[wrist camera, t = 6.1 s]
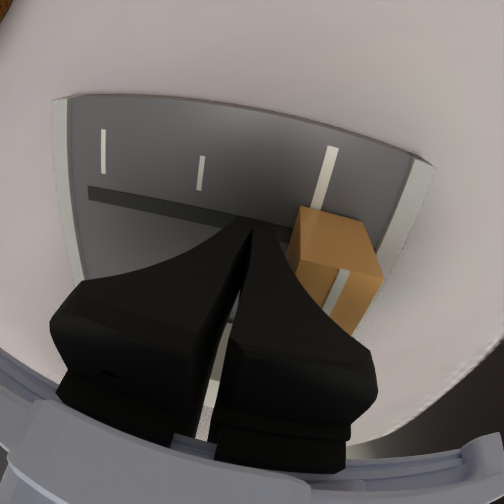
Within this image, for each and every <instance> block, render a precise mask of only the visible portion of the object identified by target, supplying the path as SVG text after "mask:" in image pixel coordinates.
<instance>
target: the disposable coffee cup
mask: <svg viewBox="0 0 504 504" xmlns="http://www.w3.org/2000/svg"><path fill="white" fill-rule="evenodd" d="M11 1H12V0H0V21H1V20H2V18H3V16H4V15H5V13H6V11H7V10H8V8H9V6H10V4H11Z"/></svg>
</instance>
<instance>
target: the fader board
mask: <svg viewBox="0 0 504 504" xmlns="http://www.w3.org/2000/svg"><path fill="white" fill-rule="evenodd" d="M52 139H53V160H54V173H55V183H56V192H57V200H58V207H59V214H60V220H61V226H62V232H63V237H64V242H65V247H66V252H67V257H68V261H69V265H70V270H71V274H72V278H73V281H74V285H75V288H76V286H77V285H78V284H79V283H80V282H81V281H82V280H90V279H96V278H102V277H108V276H114V275H119V274H123V273H127V272H131V271H135V270H139V269H142V268H146V267H149V266H152V265H155V264H157V263H160V262H163V261H165V260H168V259H171V258H173V257H176V256H178V255H180V254H182V253H184V252H186V251H188V250H190V249H192V248H194V247H196V246H197V245H199V244H200V243H202V242H204V241H205V240H207V239H208V238H210V237H211V236H213V235H214V234H216V233H217V232H218V231H220V230H221V229H223V228H224V227H225V226H226V225H228V224H229V223H230V222H231V221H233V220H234V219H235V218H236V217H238V216H243V217H248V218H252V219H257V220H261V221H265V222H270V223H273V225H274V226H275V230H276V234H277V237H278V240H279V243H280V245H281V248H282V250H283V252H284V254H285V256H286V253H287V249H288V246H289V243H290V239H291V236H292V232H293V229H294V225H295V222H296V218H297V215H298V211H299V208H300V206H304V207H308V208H312V209H316V210H320V211H324V212H328V213H331V214H335V215H339V216H343V217H346V218H350V219H354V220H357V221H361V222H363V224H364V226H365V229H366V231H367V234H368V236H369V239H370V241H371V244H372V247H373V249H374V252H375V255H376V257H377V260H378V263H379V265H380V268H381V271H382V274H383V277H384V280H383V282H382V284H381V286H380V288H379V289H378V291H377V293H376V295H375V297H374V298H373V300H372V302H371V304H370V305H369V307H368V309H367V311H366V312H365V314H364V316H363V317H362V319H361V321H360V322H359V324H358V326H357V327H356V329H355V330H354V332H353V334H352V335H351V336H352V337H353V335H354V334H355V332H356V331H357V329H358V328H359V326H360V324H361V323H362V321H363V319H364V318H365V316H366V314H367V313H368V311H369V309H370V308H371V306H372V304H373V302H374V301H375V299H376V297H377V295H378V294H379V292H380V290H381V288H382V286H383V285H384V283H385V281H386V279H387V277H388V275H389V273H390V272H391V270H392V268H393V266H394V264H395V262H396V260H397V258H398V256H399V254H400V252H401V250H402V248H403V246H404V244H405V242H406V240H407V237H408V235H409V233H410V231H411V229H412V227H413V224H414V222H415V220H416V218H417V215H418V213H419V211H420V208H421V206H422V204H423V201H424V199H425V196H426V194H427V191H428V189H429V186H430V184H431V181H432V179H433V176H434V173H435V171H436V167H434V166H433V165H432V164H430V163H429V162H427V161H426V160H425V159H423V158H422V157H419V156H417V155H415V154H412V153H410V152H407V151H405V150H402V149H399V148H397V147H394V146H392V145H389V144H386V143H383V142H381V141H378V140H375V139H372V138H369V137H366V136H363V135H360V134H357V133H354V132H351V131H347V130H344V129H341V128H337V127H334V126H331V125H327V124H323V123H320V122H316V121H312V120H308V119H304V118H300V117H296V116H292V115H288V114H283V113H279V112H274V111H269V110H264V109H259V108H254V107H248V106H242V105H236V104H230V103H223V102H216V101H209V100H201V99H192V98H182V97H170V96H156V95H133V94H91V95H72V96H67V97H63V98H58V99H54V100H53V101H52ZM239 293H240V290H239ZM239 293H238V296H237V298H236V301H235V303H234V306H233V309H232V311H231V314H230V316H229V319H228V321H227V323H231V324H233V321H234V318H235V315H236V311H237V307H238V300H239Z"/></svg>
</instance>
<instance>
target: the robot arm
mask: <svg viewBox="0 0 504 504" xmlns="http://www.w3.org/2000/svg"><path fill="white" fill-rule="evenodd" d="M239 290H240V293H239ZM238 293H239V300H238V307H237V311H236V315H235V318H234V321H233V324H232V328H231V331H230V334H229V338H228V343H227V348H226V353H225V358H224V363H223V368H222V373H221V378H220V383H219V388H218V393H217V397H216V401H215V405H214V409H213V413H212V417H211V423H210V429H209V434H208V440H207V442H206V441H202V440H198V439H195V436H196V432H197V428H198V424H199V420H200V416H201V412H202V408H203V404H204V400H205V396H206V392H207V389H208V385H209V381H210V377H211V373H212V369H213V366H214V362H215V358H216V354H217V351H218V347H219V343H220V340H221V337H222V334H223V332H224V329H225V327H226V324H227V321H228V319H229V316H230V314H231V311H232V309H233V306H234V303H235V301H236V298H237V296H238ZM50 333H51V336H52V339H53V342H54V344H55V346H56V348H57V350H58V352H59V353H60V355H61V357H62V359H63V361H64V363H65V365H66V366H67V368H68V371H67V372H66V374H65V376H64V378H63V379H62V381H61V383H60V385H59V384H57V383H55V382H53V381H51V380H50V379H48V378H46V377H44V376H43V375H41V374H39V373H38V372H36V371H34V370H33V369H31V368H30V367H28V366H27V365H25V364H23V363H22V362H20V361H19V360H17V359H16V358H14V357H13V356H11V355H10V354H9V353H7V352H6V351H4V350H3V349H1V348H0V445H1V446H2V447H3V448H4V449H5V450H6V451H7V452H8V455H7V460H8V462H9V464H8V466H7V468H6V471H5V473H4V476H3V478H2V480H1V483H0V504H489V503H491V502H492V501H495V500H496V499H498V498H500V497H502V496H504V451H503V446H502V441H501V437H500V433H498V432H497V433H493V434H489V435H485V436H481V437H478V438H476V439H474V440H472V441H470V442H469V443H467V444H466V445H464V446H463V447H462V448H461V449H457V450H452V451H446V452H440V453H434V454H427V455H419V456H411V457H400V458H387V459H359V460H357V459H356V460H353V459H352V460H350V459H348V460H346V441H348V440H350V437H351V424H352V423H353V422H354V421H355V420H356V419H358V418H359V417H360V416H361V415H362V414H363V413H364V412H365V411H367V410H368V409H369V408H370V406H371V405H372V404H373V403H374V402H375V400H376V398H377V394H378V387H377V379H376V373H375V367H374V364H373V360H372V356H371V352H370V350H368V349H367V348H366V347H365V346H363V345H362V344H361V343H359V342H358V341H357V340H356V339H354V338H353V337H352V336H350V335H349V334H348V333H347V332H345V331H344V330H343V329H342V328H341V327H340V326H339V325H338V324H337V323H335V322H334V321H333V320H332V319H331V318H330V317H329V316H328V315H327V314H326V313H325V312H324V311H323V310H322V309H321V308H320V307H319V305H318V304H317V303H316V302H315V301H314V300H313V298H312V297H311V296H310V295H309V294H308V292H307V291H306V290H305V289H304V287H303V286H302V284H301V283H300V281H299V280H298V278H297V277H296V275H295V274H294V272H293V270H292V268H291V266H290V265H289V263H288V261H287V259H286V257H285V254H284V252H283V250H282V248H281V245H280V243H279V240H278V237H277V234H276V230H275V226H274V225H273V223H270V222H265V221H261V220H257V219H252V218H248V217H243V216H238V217H236V218H235V219H234V220H233V221H231V222H230V223H229V224H228V225H226V226H225V227H224V228H223V229H221V230H220V231H218V232H217V233H216V234H214V235H213V236H211V237H210V238H208V239H207V240H205V241H204V242H202V243H200V244H199V245H197V246H196V247H194V248H192V249H190V250H188V251H186V252H184V253H182V254H180V255H178V256H176V257H173V258H171V259H168V260H165V261H163V262H160V263H157V264H155V265H152V266H149V267H146V268H142V269H139V270H135V271H131V272H127V273H123V274H119V275H114V276H108V277H102V278H96V279H90V280H82V281H81V282H80V283H79V284H78V285H77V286H76V288H75V289H74V290H73V291H72V292H71V293H70V295H69V296H68V297H67V298H66V300H65V301H64V302H63V303H62V305H61V306H60V307H59V309H58V310H57V311H56V312H55V314H54V315H53V317H52V318H51V320H50Z"/></svg>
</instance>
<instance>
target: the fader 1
mask: <svg viewBox="0 0 504 504" xmlns="http://www.w3.org/2000/svg"><path fill="white" fill-rule="evenodd" d="M231 328H232V324H231V323H227V324H226V327H225V329H224V332H223V334H222V337H221V340H220V343H219V347H218V351H217V354H216V358H215V362H214V366H213V369H212V373H211V377H210V381H209V385H208V389H207V392H206V396H205V400H204V404H203V406H207V407H211V408H214V405H215V401H216V397H217V393H218V388H219V383H220V378H221V373H222V368H223V363H224V358H225V353H226V348H227V343H228V338H229V334H230V331H231Z"/></svg>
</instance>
